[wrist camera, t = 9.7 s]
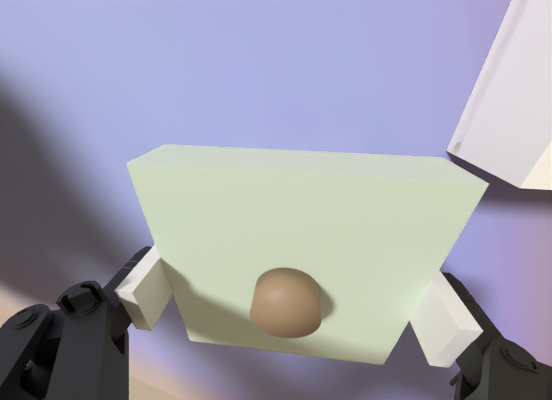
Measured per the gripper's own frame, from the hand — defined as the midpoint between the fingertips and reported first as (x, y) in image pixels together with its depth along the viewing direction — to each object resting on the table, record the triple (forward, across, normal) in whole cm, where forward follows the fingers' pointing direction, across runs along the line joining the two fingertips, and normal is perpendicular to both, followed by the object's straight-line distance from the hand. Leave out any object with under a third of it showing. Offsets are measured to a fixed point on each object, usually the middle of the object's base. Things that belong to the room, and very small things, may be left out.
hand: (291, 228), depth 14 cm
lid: (-2, 0, 0) cm, 2 cm away
